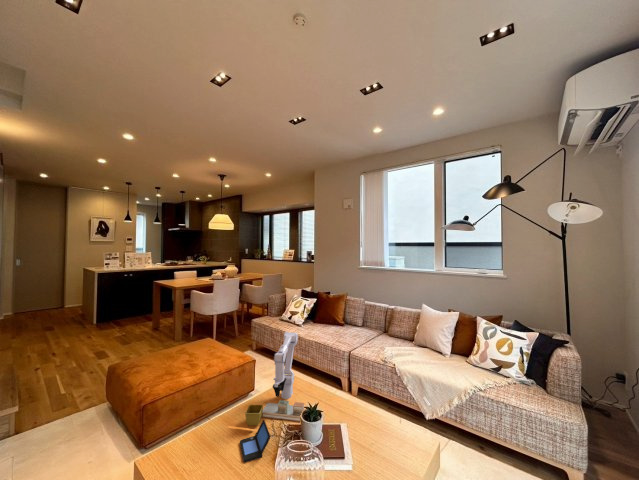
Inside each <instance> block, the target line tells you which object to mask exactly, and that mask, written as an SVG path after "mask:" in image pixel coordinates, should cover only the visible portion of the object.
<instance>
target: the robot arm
mask: <svg viewBox="0 0 639 480" xmlns="http://www.w3.org/2000/svg"><path fill="white" fill-rule="evenodd" d="M298 339H299V334H298V332H289V331H285V332H284V333H283V344H281V345H280V347H279V348H278V351H277V352H275V353H274V356H273V361H274V367H275V369H274V370H275V372H274V376H275V377H274V378H273V381H274V384H273V385H272V388H273V391H274V394H275V397H278V398H279V397H280V395H281V398H282V400H288V399H291V398H292V395H293V394H295V393H294V392H293V391H294V389H293V388H294V387H293V384H294V382H295V373H294V372H293V370H292V366H293V365H292V363H293V359H294V358H293V357H294V351H295V346H297V344H298Z"/></svg>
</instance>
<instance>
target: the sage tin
mask: <svg viewBox="0 0 639 480" xmlns="http://www.w3.org/2000/svg"><path fill="white" fill-rule="evenodd" d="M277 404H278V413H280V414H287V413H288V412H289V405H290V400H286V399H280V400H279V401H278V403H277Z"/></svg>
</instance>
